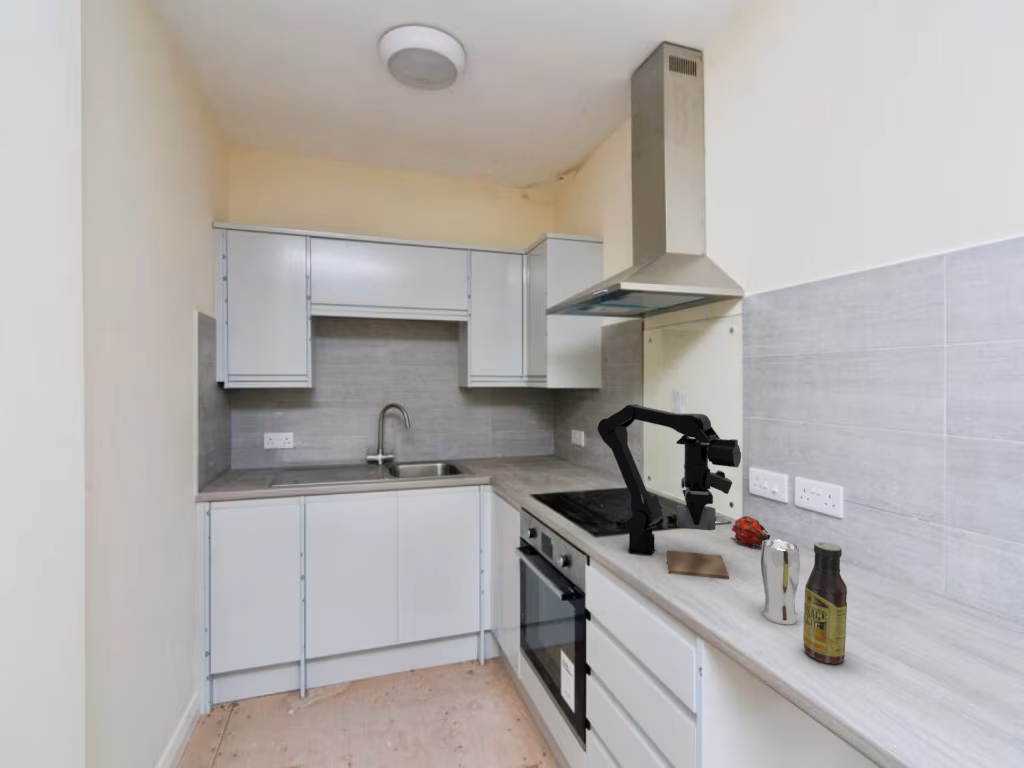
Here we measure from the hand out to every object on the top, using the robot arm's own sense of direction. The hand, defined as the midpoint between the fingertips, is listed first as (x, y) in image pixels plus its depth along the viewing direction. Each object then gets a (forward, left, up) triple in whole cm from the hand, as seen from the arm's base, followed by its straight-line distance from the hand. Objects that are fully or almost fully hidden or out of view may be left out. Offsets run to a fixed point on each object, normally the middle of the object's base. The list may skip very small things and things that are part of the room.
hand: (695, 522), depth 125 cm
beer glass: (+14, -24, -12) cm, 30 cm away
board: (0, 0, -11) cm, 11 cm away
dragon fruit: (+17, +21, -12) cm, 29 cm away
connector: (+1, 0, -1) cm, 2 cm away
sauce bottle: (+18, -37, -12) cm, 43 cm away
